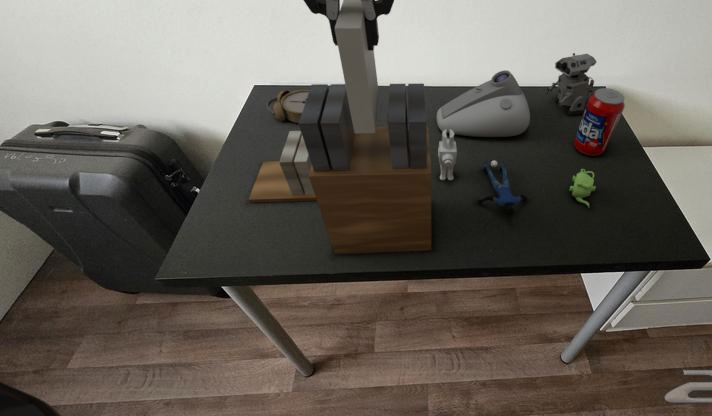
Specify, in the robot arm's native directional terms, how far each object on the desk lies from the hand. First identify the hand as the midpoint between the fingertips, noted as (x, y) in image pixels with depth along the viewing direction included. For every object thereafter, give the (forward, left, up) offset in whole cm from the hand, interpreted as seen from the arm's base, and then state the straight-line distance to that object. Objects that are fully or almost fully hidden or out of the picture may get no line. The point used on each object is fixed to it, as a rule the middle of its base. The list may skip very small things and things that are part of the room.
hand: (357, 47), depth 46 cm
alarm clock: (+12, +46, -37) cm, 60 cm away
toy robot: (+20, +1, -37) cm, 42 cm away
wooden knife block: (0, 0, -36) cm, 36 cm away
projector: (+41, +7, -37) cm, 55 cm away
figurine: (+64, -5, -37) cm, 74 cm away
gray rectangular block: (0, 0, -10) cm, 10 cm away
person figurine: (+23, -12, -37) cm, 45 cm away
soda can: (+52, -19, -37) cm, 66 cm away
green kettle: (+35, -25, -37) cm, 56 cm away
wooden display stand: (-5, +25, -36) cm, 44 cm away
